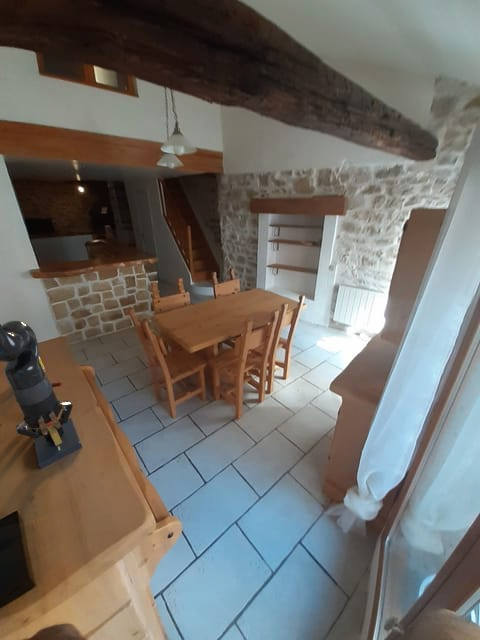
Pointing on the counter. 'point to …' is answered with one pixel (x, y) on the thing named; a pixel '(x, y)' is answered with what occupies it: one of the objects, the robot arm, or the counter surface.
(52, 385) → the latch lever
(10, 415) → the counter surface
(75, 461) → the counter surface
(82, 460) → the counter surface
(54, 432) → the yellow flat block
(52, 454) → the lock plate
